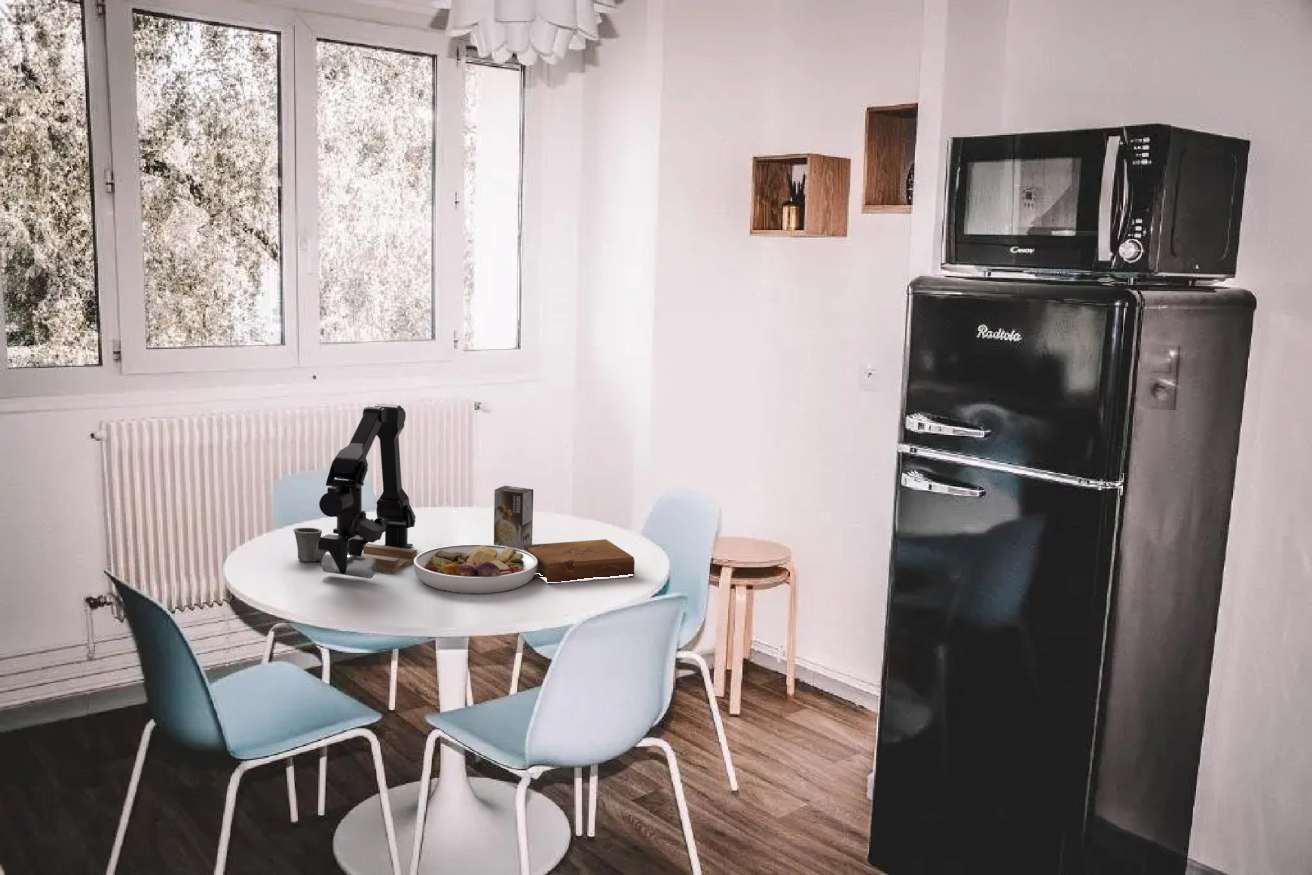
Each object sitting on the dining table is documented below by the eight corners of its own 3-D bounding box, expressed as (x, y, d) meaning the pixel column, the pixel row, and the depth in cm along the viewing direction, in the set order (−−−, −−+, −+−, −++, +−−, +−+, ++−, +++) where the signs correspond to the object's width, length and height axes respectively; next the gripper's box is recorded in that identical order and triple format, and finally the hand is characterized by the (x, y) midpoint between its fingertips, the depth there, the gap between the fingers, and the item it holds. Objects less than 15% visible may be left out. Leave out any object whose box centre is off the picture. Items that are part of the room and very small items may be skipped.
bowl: (402, 567, 298) (402, 536, 297) (516, 559, 310) (517, 530, 309) (429, 602, 271) (429, 569, 270) (553, 592, 283) (554, 560, 282)
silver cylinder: (332, 569, 289) (332, 549, 288) (376, 575, 285) (376, 555, 284) (321, 574, 284) (321, 554, 283) (365, 580, 281) (365, 560, 280)
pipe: (335, 567, 294) (335, 535, 293) (288, 561, 297) (287, 531, 296) (346, 560, 300) (346, 530, 299) (300, 555, 303) (299, 525, 301)
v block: (369, 554, 307) (369, 542, 307) (418, 560, 303) (418, 549, 303) (342, 566, 295) (342, 554, 294) (392, 573, 291) (392, 561, 290)
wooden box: (547, 587, 288) (548, 564, 287) (523, 566, 305) (523, 545, 304) (634, 579, 298) (634, 556, 297) (605, 559, 314) (606, 538, 313)
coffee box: (533, 546, 322) (535, 489, 319) (522, 551, 316) (523, 493, 314) (503, 542, 325) (505, 484, 323) (492, 547, 320) (493, 489, 317)
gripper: (358, 519, 271) (358, 585, 273) (398, 503, 288) (398, 565, 291) (315, 514, 274) (315, 579, 277) (358, 498, 292) (358, 559, 294)
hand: (349, 570), depth 284 cm, fingers closed on silver cylinder, 5 cm apart
